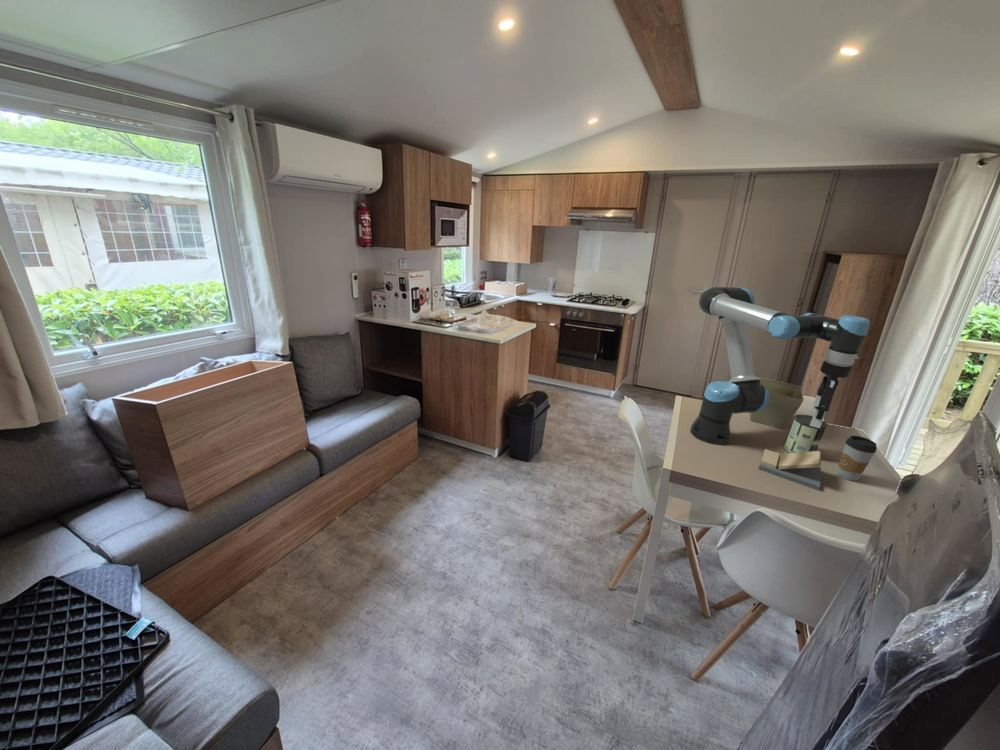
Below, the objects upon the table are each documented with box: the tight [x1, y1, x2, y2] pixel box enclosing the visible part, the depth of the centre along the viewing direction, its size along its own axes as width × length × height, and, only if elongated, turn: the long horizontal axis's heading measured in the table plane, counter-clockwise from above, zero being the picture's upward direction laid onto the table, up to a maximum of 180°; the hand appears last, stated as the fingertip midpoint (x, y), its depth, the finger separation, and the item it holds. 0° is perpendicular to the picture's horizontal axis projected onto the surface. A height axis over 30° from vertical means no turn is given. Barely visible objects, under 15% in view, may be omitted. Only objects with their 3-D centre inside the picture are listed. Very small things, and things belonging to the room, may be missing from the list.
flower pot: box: [749, 376, 805, 429], centre depth 180 cm, size 19×19×17 cm
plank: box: [778, 450, 822, 469], centre depth 142 cm, size 12×11×1 cm
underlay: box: [758, 448, 822, 491], centre depth 144 cm, size 18×15×3 cm
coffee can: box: [784, 414, 828, 453], centre depth 156 cm, size 10×10×14 cm
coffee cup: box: [836, 435, 878, 482], centre depth 140 cm, size 8×8×15 cm
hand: (814, 419), depth 137 cm, fingers open, 13 cm apart
